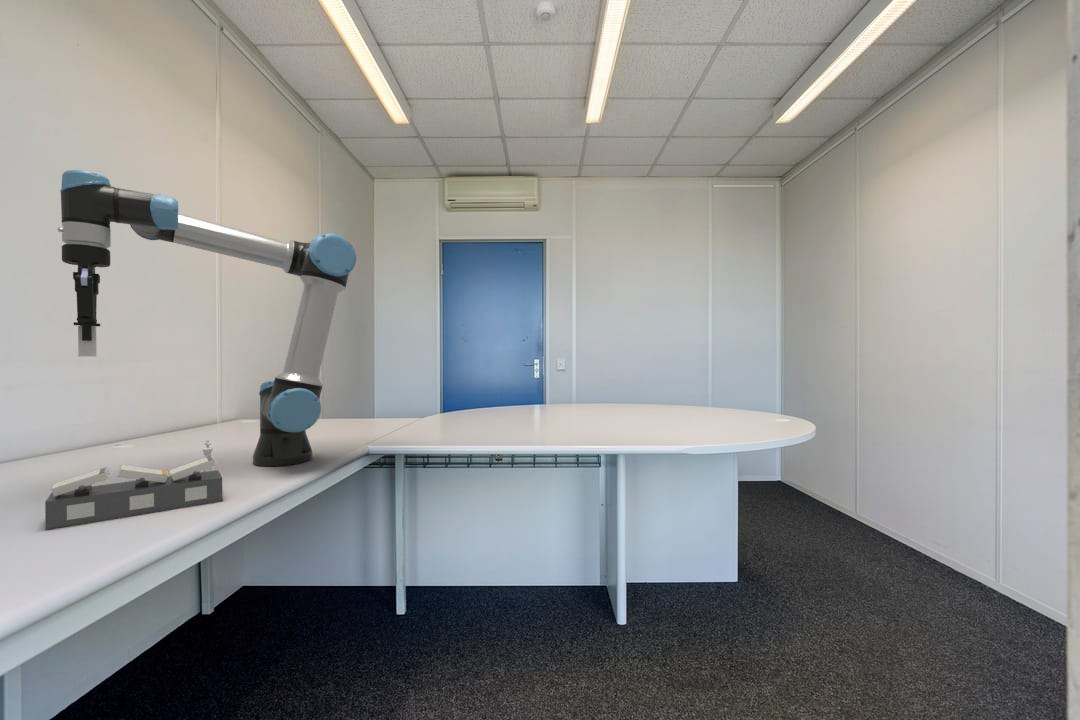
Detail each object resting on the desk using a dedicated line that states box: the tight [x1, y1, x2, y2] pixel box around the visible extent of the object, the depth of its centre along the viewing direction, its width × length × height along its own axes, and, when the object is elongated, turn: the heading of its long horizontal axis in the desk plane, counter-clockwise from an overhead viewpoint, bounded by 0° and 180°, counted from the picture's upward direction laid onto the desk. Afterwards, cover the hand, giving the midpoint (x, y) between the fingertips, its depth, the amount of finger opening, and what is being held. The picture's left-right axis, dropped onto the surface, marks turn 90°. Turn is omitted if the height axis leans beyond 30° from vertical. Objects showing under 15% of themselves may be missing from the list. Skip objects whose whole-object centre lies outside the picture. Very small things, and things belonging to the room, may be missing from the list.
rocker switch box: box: [44, 469, 223, 531], centre depth 94 cm, size 26×8×6 cm, turn 130°
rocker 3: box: [169, 455, 217, 481], centre depth 100 cm, size 8×4×2 cm, turn 129°
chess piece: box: [202, 439, 213, 472], centre depth 114 cm, size 5×5×10 cm
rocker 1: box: [50, 467, 111, 496], centre depth 89 cm, size 8×4×2 cm, turn 129°
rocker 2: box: [117, 464, 169, 483], centre depth 94 cm, size 8×4×2 cm, turn 130°
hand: (87, 356), depth 101 cm, fingers closed
